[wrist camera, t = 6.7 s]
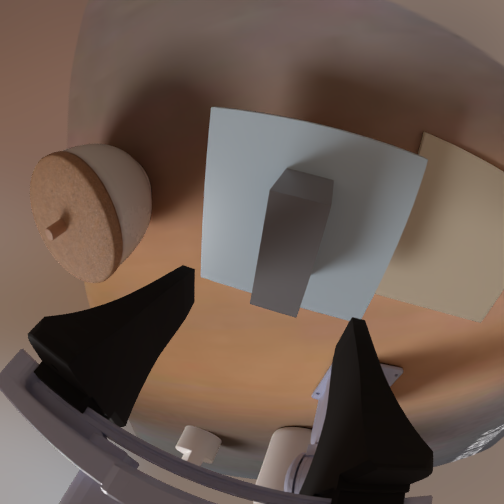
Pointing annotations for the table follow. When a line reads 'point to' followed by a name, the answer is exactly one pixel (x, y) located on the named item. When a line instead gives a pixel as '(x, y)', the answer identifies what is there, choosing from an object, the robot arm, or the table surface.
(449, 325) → the table surface
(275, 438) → the wine bottle
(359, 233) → the cover
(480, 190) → the mat
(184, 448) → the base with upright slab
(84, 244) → the lidded jar
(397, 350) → the table surface
